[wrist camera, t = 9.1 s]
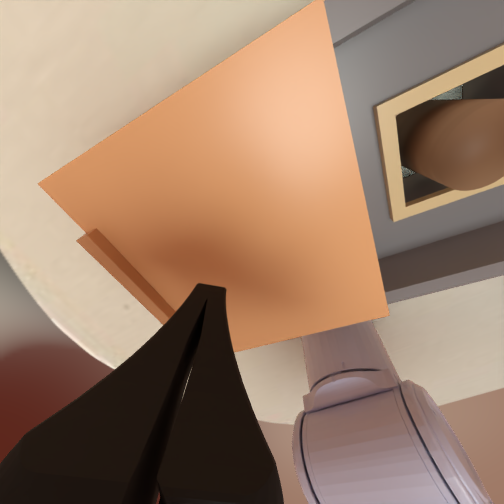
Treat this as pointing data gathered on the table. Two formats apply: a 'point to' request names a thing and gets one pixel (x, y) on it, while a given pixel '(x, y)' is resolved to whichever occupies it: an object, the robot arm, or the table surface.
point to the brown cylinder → (454, 141)
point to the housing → (386, 138)
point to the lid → (238, 194)
